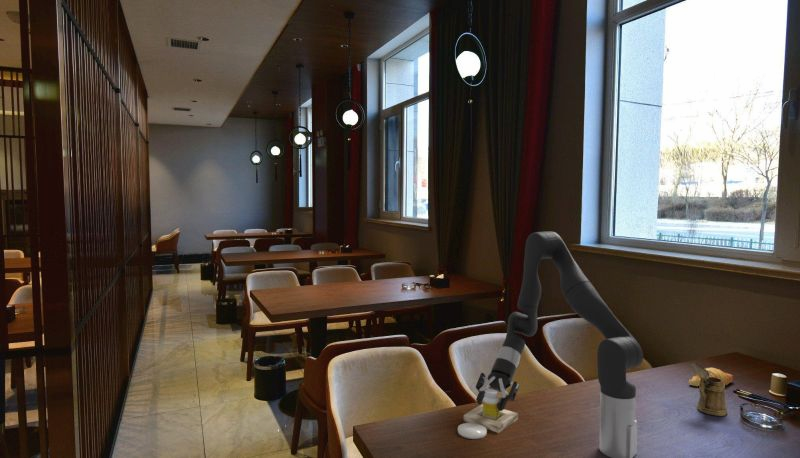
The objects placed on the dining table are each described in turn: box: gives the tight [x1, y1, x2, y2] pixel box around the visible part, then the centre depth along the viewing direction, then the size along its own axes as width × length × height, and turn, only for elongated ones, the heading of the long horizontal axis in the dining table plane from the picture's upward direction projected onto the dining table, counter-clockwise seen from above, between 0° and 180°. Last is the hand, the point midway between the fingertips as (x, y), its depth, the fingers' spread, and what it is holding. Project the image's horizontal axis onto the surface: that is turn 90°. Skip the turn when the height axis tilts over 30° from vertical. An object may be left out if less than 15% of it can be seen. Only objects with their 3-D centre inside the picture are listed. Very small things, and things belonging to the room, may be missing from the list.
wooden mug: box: [690, 362, 728, 417], centre depth 167 cm, size 9×14×18 cm, turn 110°
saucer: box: [457, 422, 488, 440], centre depth 151 cm, size 9×9×1 cm
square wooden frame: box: [463, 403, 519, 434], centre depth 160 cm, size 13×13×2 cm
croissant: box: [688, 367, 735, 387], centre depth 193 cm, size 21×10×8 cm, turn 105°
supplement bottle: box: [482, 389, 500, 421], centre depth 159 cm, size 5×5×10 cm
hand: (488, 406), depth 158 cm, fingers open, 7 cm apart
